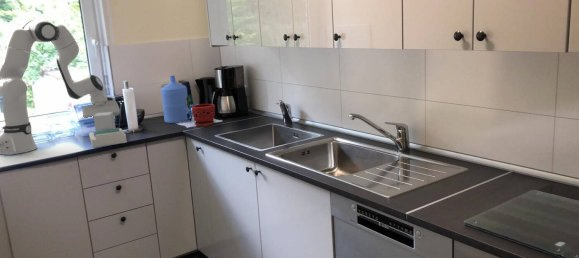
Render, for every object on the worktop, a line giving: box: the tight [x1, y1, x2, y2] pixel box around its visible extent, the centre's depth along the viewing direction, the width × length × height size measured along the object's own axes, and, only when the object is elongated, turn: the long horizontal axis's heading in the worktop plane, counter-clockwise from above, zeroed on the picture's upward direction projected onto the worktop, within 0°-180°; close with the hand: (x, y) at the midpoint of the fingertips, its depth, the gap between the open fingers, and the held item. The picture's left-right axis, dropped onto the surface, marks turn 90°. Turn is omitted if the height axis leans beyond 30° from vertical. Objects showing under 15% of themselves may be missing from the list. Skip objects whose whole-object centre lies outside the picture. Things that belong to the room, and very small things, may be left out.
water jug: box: [160, 75, 190, 124], centre depth 324 cm, size 16×16×28 cm
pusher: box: [94, 127, 119, 135], centre depth 279 cm, size 4×12×7 cm, turn 114°
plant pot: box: [191, 103, 216, 128], centre depth 308 cm, size 13×13×12 cm
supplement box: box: [93, 112, 116, 131], centre depth 285 cm, size 9×9×15 cm
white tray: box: [88, 127, 128, 148], centre depth 284 cm, size 20×17×6 cm
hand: (103, 122), depth 298 cm, fingers closed
